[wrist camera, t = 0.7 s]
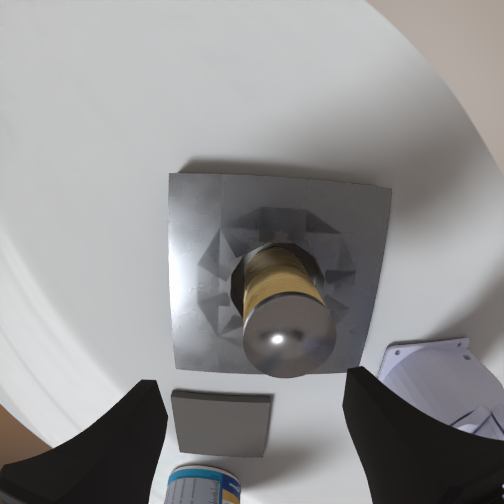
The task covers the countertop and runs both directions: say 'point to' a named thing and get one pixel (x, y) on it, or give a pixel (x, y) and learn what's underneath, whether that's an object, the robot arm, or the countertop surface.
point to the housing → (257, 234)
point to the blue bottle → (202, 486)
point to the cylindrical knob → (284, 316)
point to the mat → (220, 423)
